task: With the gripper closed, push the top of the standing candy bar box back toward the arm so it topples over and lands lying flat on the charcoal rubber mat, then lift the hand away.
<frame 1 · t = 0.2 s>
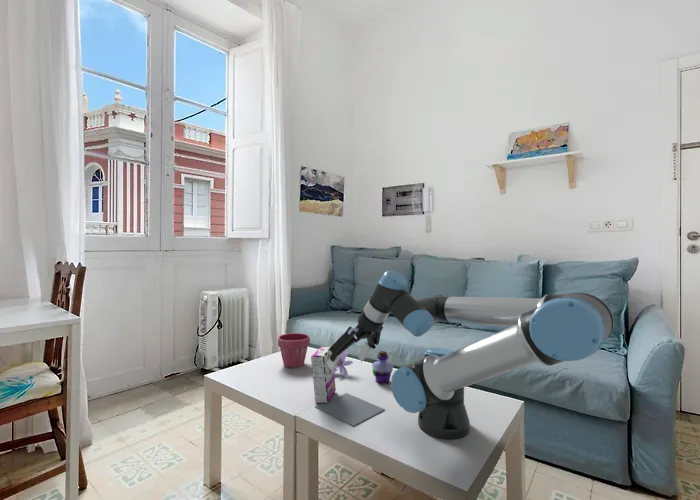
hand: (345, 362, 118), 16 cm above the table, tool tilted 35°, fingers open, 13 cm apart
shard: (412, 399, 128), on the table
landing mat: (349, 408, 119), on the table
plant pot: (293, 365, 162), on the table
potion bottle: (382, 382, 142), on the table
candy bar box: (325, 397, 127), on the table, touching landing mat
water lily: (337, 374, 151), on the table
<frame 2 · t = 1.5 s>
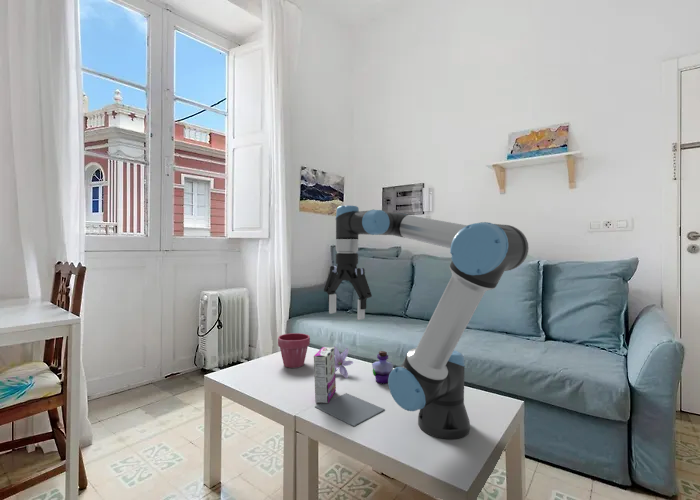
hand: (346, 316, 120), 31 cm above the table, tool pointing down, fingers open, 13 cm apart
nothing on the table moved.
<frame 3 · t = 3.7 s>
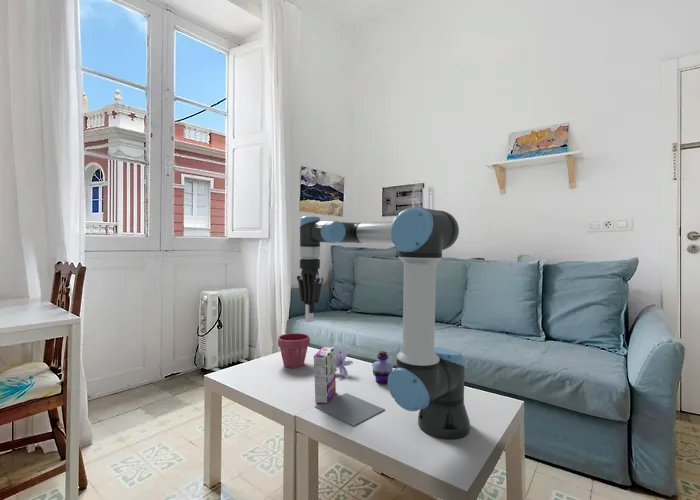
hand: (309, 321, 133), 26 cm above the table, tool pointing down, fingers closed
nothing on the table moved.
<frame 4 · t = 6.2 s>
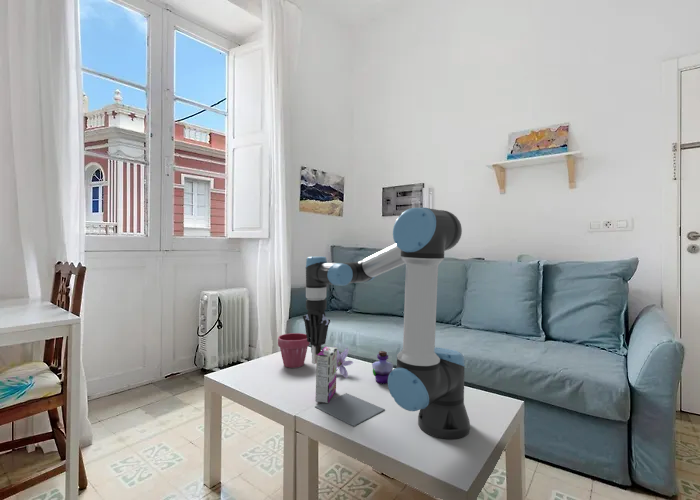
hand: (316, 362, 131), 11 cm above the table, tool pointing down, fingers closed
candy bar box: (325, 397, 127), on the table, touching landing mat
everything else where it was.
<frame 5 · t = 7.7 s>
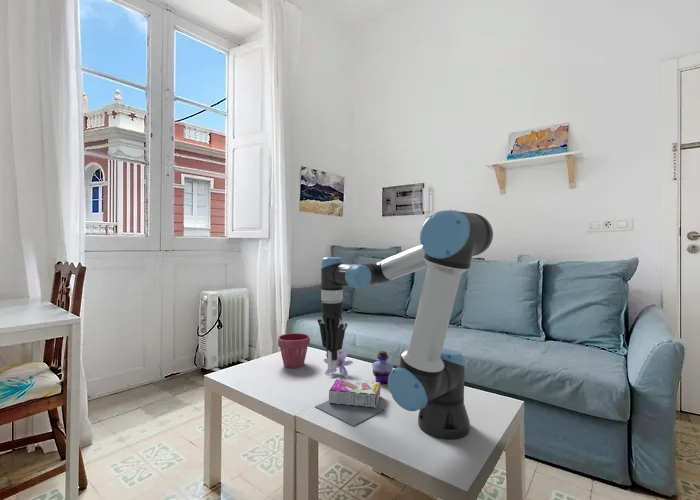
hand: (332, 368, 125), 11 cm above the table, tool pointing down, fingers closed
candy bar box: (332, 390, 127), point 3 cm above the table, touching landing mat
everything else where it was.
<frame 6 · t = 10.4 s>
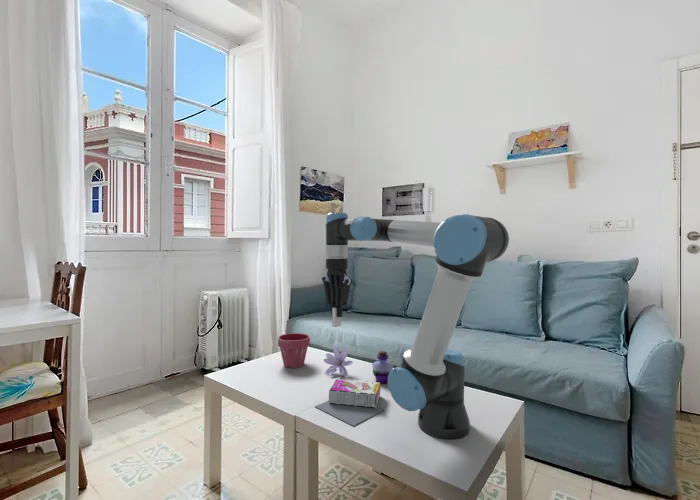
hand: (336, 326, 123), 27 cm above the table, tool pointing down, fingers closed
nothing on the table moved.
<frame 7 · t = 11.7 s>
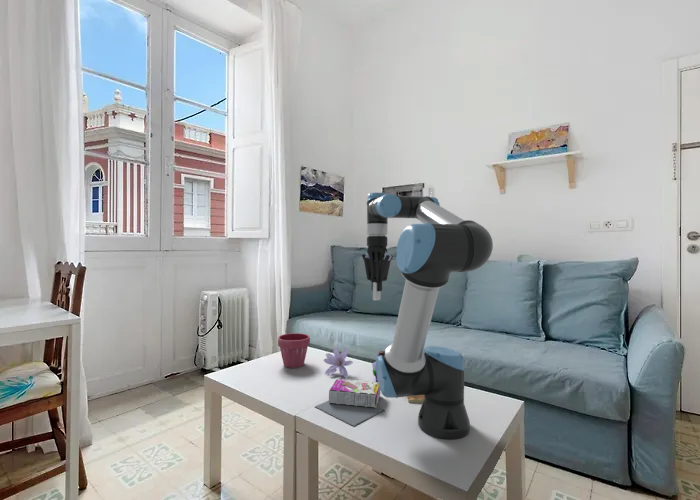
hand: (376, 299, 131), 34 cm above the table, tool pointing down, fingers closed
nothing on the table moved.
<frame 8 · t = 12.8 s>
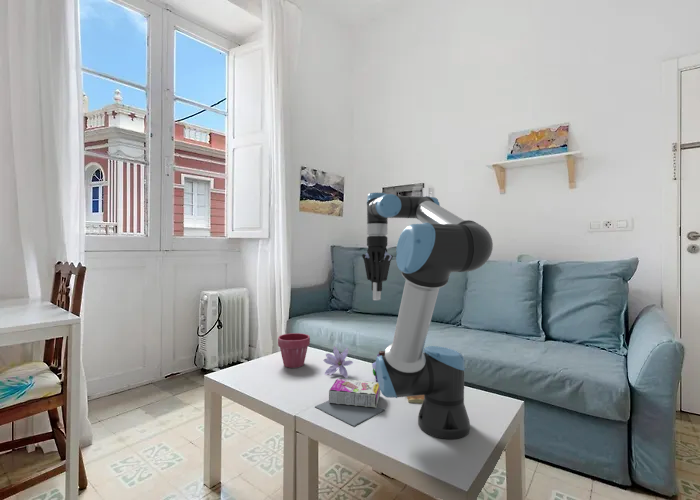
hand: (376, 299, 131), 34 cm above the table, tool pointing down, fingers closed
nothing on the table moved.
at the end: candy bar box tilted 91°; candy bar box touching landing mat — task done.
